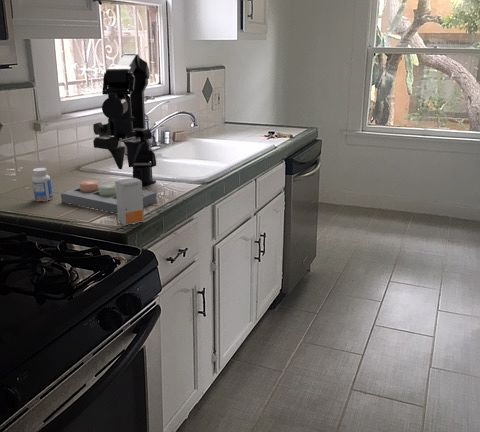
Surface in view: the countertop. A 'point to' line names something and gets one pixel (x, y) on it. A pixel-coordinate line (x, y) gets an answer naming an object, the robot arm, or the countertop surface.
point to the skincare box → (129, 201)
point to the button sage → (107, 190)
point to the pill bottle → (41, 185)
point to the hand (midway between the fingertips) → (125, 167)
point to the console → (100, 199)
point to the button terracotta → (89, 186)
